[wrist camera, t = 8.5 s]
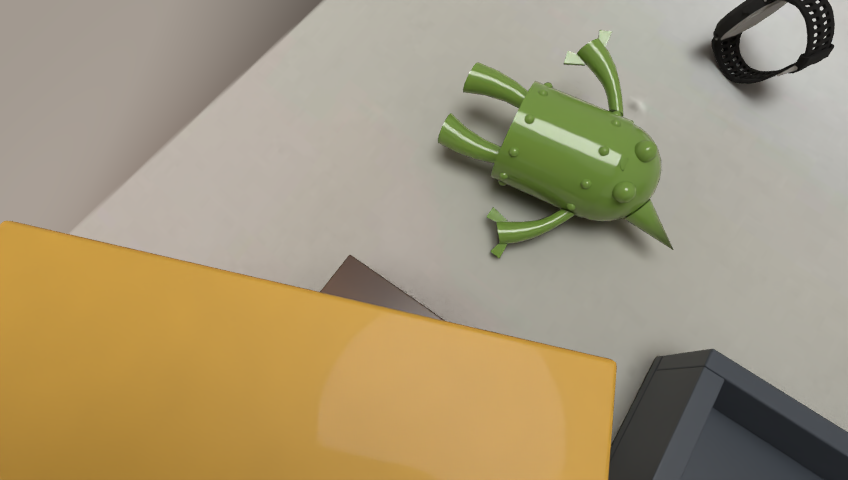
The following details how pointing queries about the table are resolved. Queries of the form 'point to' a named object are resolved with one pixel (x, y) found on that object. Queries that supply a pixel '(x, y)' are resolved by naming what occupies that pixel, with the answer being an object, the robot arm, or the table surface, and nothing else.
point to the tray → (722, 427)
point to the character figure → (565, 151)
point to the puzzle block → (268, 380)
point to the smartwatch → (753, 11)
